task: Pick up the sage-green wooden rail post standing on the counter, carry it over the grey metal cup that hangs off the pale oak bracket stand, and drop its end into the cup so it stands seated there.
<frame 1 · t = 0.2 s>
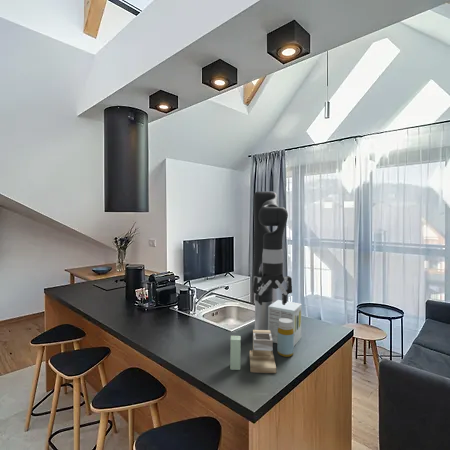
hand: (272, 304, 106), 28 cm above the counter, tool pointing down, fingers open, 8 cm apart
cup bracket: (262, 365, 117), on the counter
bottle: (285, 354, 128), on the counter
rail post: (235, 367, 116), on the counter
supplement box: (284, 339, 143), on the counter
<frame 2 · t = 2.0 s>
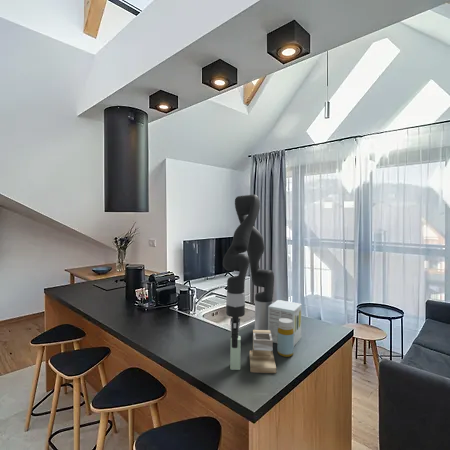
hand: (234, 342, 116), 10 cm above the counter, tool pointing down, fingers open, 8 cm apart
nothing on the counter moved.
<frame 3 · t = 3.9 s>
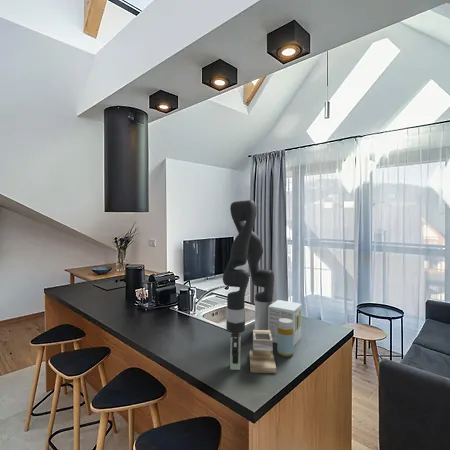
hand: (235, 360, 116), 3 cm above the counter, tool pointing down, fingers closed on rail post, 4 cm apart
rail post: (235, 366, 116), on the counter, touching gripper
everything else where it was.
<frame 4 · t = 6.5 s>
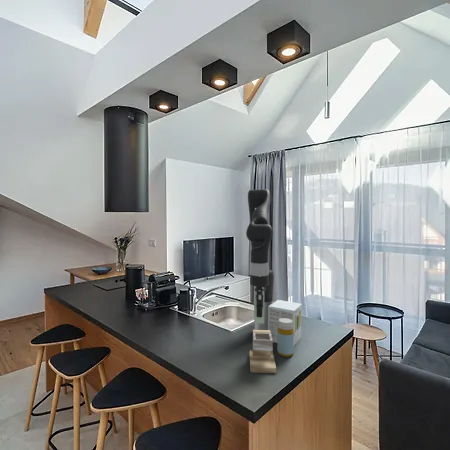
hand: (259, 314, 117), 21 cm above the counter, tool pointing down, fingers closed on rail post, 4 cm apart
rail post: (258, 321, 117), point 18 cm above the counter, touching gripper
everything else where it was.
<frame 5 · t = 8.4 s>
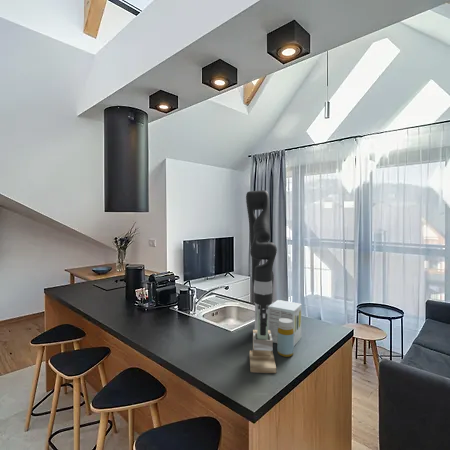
hand: (262, 332, 117), 14 cm above the counter, tool pointing down, fingers closed on rail post, 4 cm apart
rail post: (262, 339, 117), point 11 cm above the counter, touching gripper
everything else where it was.
when the fingers open (13 cm above the counter, at t = 9.6 s): rail post drops 1 cm, resting on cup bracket.
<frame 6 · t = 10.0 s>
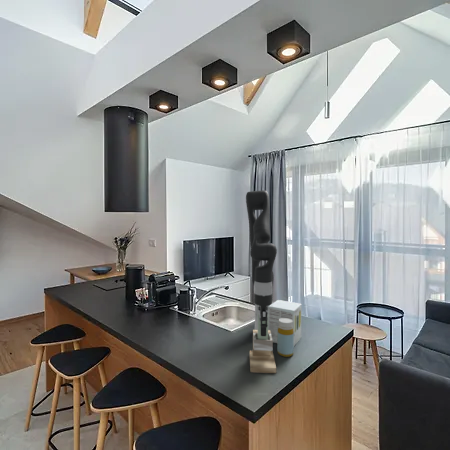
hand: (262, 331, 117), 14 cm above the counter, tool pointing down, fingers open, 8 cm apart
rail post: (262, 343, 117), point 9 cm above the counter, touching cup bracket
everything else where it was.
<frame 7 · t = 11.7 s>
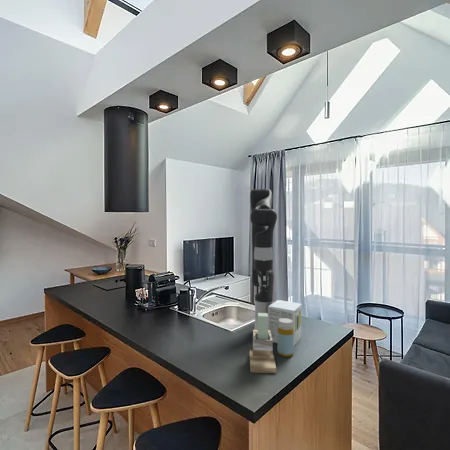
hand: (263, 297, 117), 28 cm above the counter, tool pointing down, fingers open, 8 cm apart
nothing on the counter moved.
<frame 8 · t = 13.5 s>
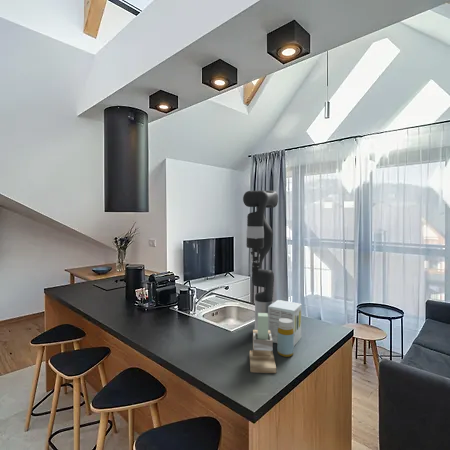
hand: (254, 273, 124), 36 cm above the counter, tool pointing down, fingers open, 8 cm apart
nothing on the counter moved.
at the end: rail post 0.2 cm off-centre on the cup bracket, point 9.0 cm above the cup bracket's base; rail post tilted 0°; the gripper is holding nothing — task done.
